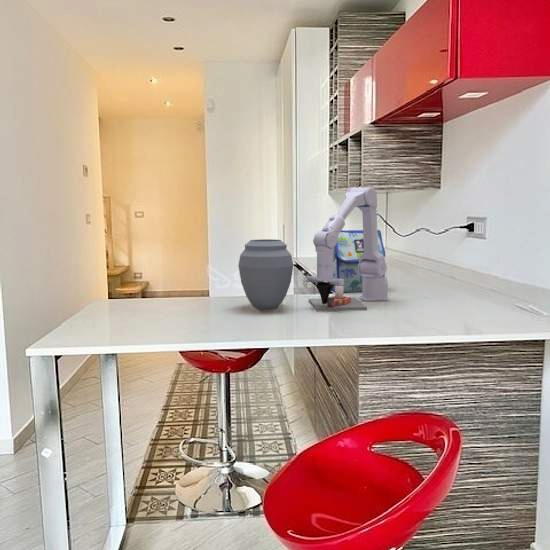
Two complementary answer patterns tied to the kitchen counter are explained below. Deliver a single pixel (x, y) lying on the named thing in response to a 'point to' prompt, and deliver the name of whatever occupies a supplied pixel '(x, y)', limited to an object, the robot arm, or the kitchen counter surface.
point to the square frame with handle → (333, 302)
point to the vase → (265, 272)
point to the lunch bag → (351, 258)
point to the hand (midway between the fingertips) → (324, 303)
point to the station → (338, 295)
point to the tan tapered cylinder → (339, 302)
